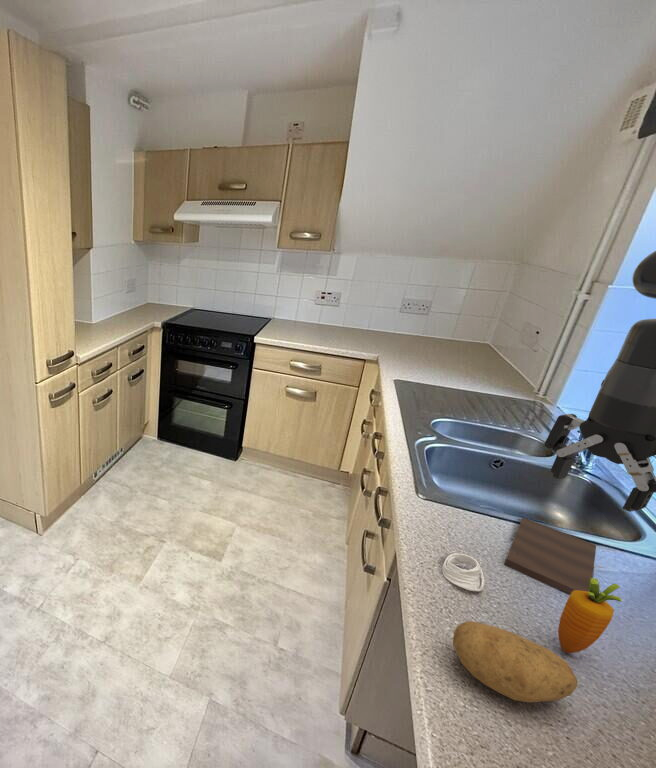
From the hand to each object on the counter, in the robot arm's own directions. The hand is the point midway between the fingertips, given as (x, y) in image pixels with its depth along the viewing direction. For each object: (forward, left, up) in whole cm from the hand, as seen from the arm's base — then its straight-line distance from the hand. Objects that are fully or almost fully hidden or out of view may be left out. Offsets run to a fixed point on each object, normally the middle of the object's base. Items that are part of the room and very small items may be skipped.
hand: (591, 492), depth 63 cm
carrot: (0, +7, -26) cm, 27 cm away
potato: (+14, +13, -26) cm, 32 cm away
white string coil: (+7, -7, -26) cm, 28 cm away
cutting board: (-15, -15, -26) cm, 33 cm away
